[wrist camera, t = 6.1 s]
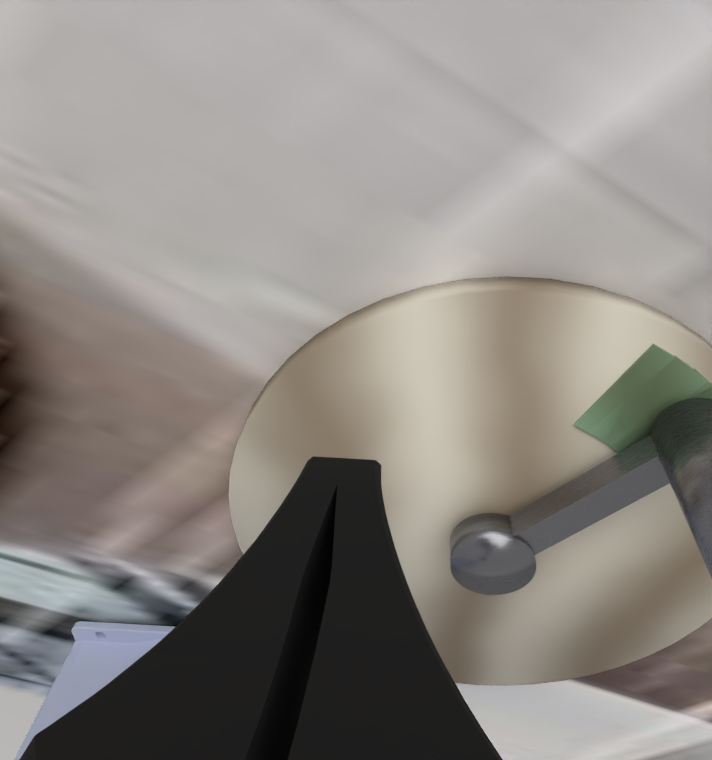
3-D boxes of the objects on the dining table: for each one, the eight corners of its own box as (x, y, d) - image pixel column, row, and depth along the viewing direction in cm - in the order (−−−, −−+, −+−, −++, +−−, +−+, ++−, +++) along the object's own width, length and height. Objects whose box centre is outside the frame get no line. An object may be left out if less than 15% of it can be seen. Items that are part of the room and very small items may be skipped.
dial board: (268, 652, 32) (263, 673, 31) (191, 278, 21) (180, 293, 20) (696, 678, 30) (705, 701, 29) (861, 274, 19) (883, 292, 18)
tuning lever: (485, 579, 25) (496, 718, 21) (433, 538, 24) (432, 674, 20) (752, 437, 20) (843, 578, 16) (700, 377, 19) (781, 510, 15)
